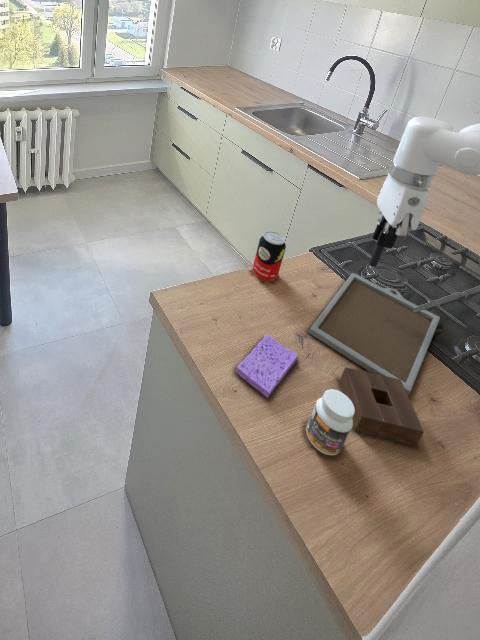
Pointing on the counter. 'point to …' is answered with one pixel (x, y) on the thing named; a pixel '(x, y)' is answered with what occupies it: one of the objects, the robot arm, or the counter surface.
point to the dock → (381, 406)
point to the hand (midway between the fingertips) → (381, 242)
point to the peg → (376, 254)
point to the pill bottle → (330, 422)
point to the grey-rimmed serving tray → (377, 329)
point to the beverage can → (269, 255)
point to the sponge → (266, 365)
